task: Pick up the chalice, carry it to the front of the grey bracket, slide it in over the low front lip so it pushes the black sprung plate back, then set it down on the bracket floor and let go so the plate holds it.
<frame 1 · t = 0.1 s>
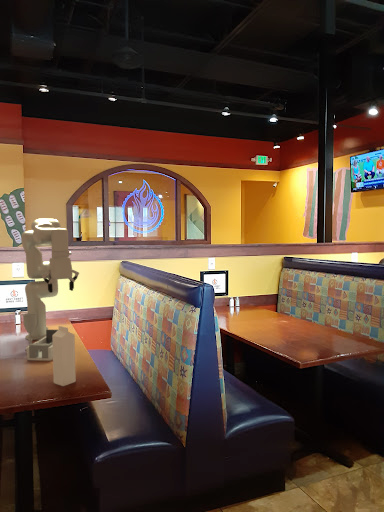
hand: (61, 291, 192), 31 cm above the table, tool pointing down, fingers open, 9 cm apart
chalice: (30, 350, 206), on the table
grey bracket: (48, 353, 199), on the table
pusher: (48, 342, 198), point 6 cm above the table, slide at 0.0 cm
milk: (64, 382, 160), on the table
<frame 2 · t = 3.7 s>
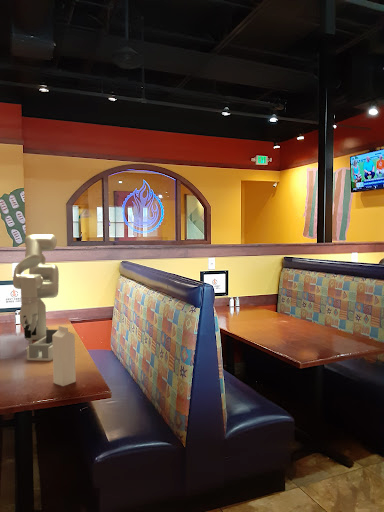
hand: (30, 336, 205), 7 cm above the table, tool pointing down, fingers closed on chalice, 4 cm apart
chalice: (30, 350, 206), on the table, touching gripper
everything else where it was.
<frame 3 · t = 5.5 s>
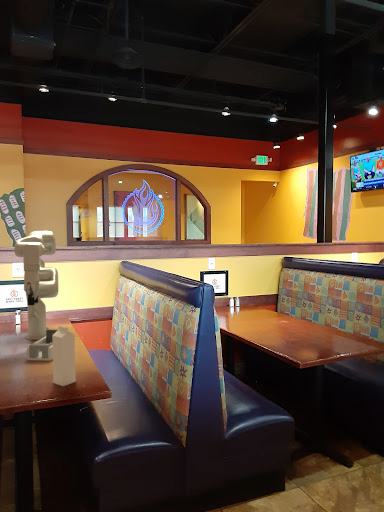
hand: (32, 303, 206), 23 cm above the table, tool pointing down, fingers closed on chalice, 4 cm apart
chalice: (33, 317, 206), point 16 cm above the table, touching gripper
everything else where it was.
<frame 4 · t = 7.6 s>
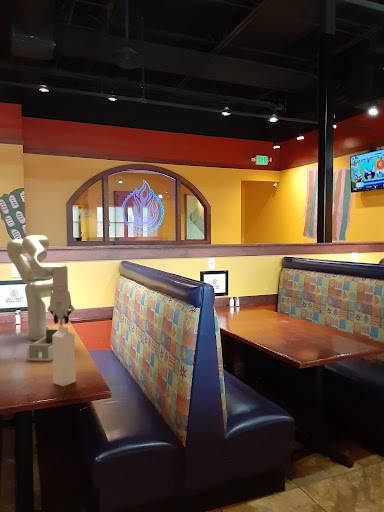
hand: (61, 322, 214), 12 cm above the table, tool pointing down, fingers closed on chalice, 4 cm apart
chalice: (61, 336, 214), point 4 cm above the table, touching gripper
everything else where it was.
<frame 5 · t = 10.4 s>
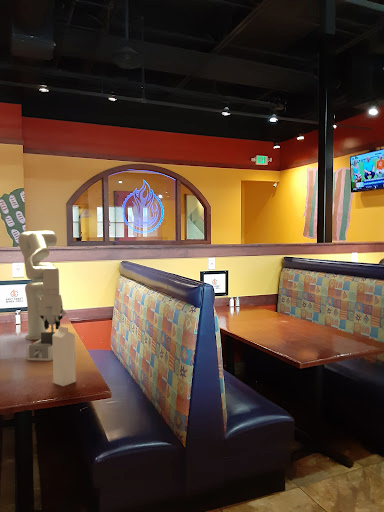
hand: (52, 328, 203), 11 cm above the table, tool pointing down, fingers closed on chalice, 4 cm apart
chalice: (52, 342, 203), point 4 cm above the table, touching gripper, pusher
pusher: (42, 345, 192), point 6 cm above the table, slide at 5.7 cm, touching chalice
everything else where it was.
when the fingers open (8 cm above the table, at t = 11.8 s): chalice stays where it is, point 1 cm above the table.
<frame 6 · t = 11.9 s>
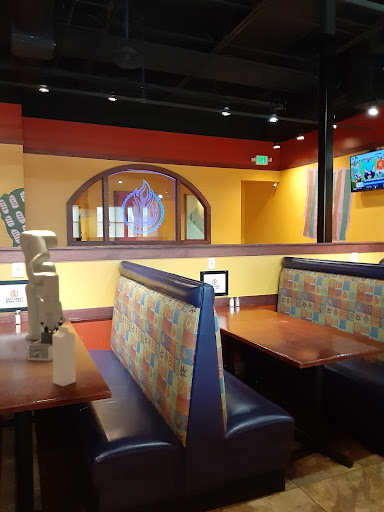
hand: (52, 334, 203), 8 cm above the table, tool pointing down, fingers open, 4 cm apart
chalice: (52, 348, 204), point 1 cm above the table
pusher: (42, 345, 192), point 6 cm above the table, slide at 5.6 cm
everything else where it was.
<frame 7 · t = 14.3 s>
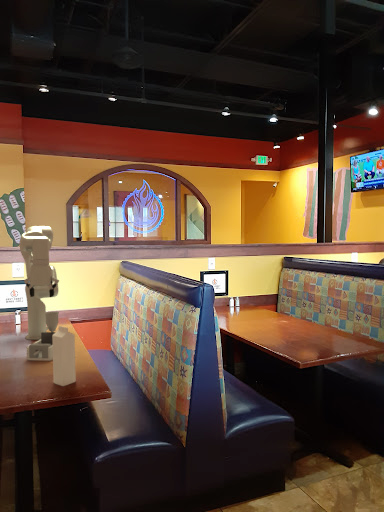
hand: (41, 296, 204), 27 cm above the table, tool pointing down, fingers open, 9 cm apart
chalice: (52, 349, 204), point 1 cm above the table, touching grey bracket, pusher
pusher: (42, 345, 192), point 6 cm above the table, slide at 5.6 cm, touching chalice
everything else where it was.
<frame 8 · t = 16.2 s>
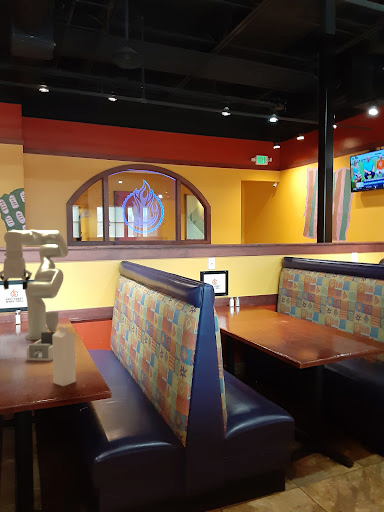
hand: (15, 289, 207), 30 cm above the table, tool pointing down, fingers open, 9 cm apart
nothing on the table moved.
at the end: chalice 0.1 cm from the target spot on the grey bracket, point 0.8 cm above the grey bracket's base; chalice tilted 0°; pusher slide at 5.6 cm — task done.
